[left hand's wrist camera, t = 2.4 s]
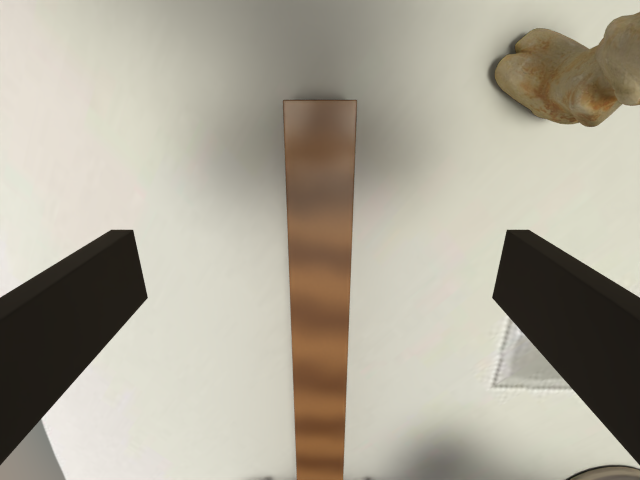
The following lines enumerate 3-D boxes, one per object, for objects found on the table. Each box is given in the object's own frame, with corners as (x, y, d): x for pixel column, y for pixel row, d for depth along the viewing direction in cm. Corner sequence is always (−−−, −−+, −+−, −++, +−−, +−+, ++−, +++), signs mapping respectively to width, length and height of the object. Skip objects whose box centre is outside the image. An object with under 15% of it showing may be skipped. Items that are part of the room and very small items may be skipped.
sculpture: (533, 16, 27) (760, -74, 13) (586, 82, 29) (836, 63, 15) (476, 79, 29) (623, 57, 15) (529, 137, 30) (705, 166, 17)
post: (292, 100, 30) (282, 100, 22) (347, 100, 30) (357, 99, 22) (303, 506, 50) (300, 583, 42) (336, 506, 50) (339, 583, 42)
